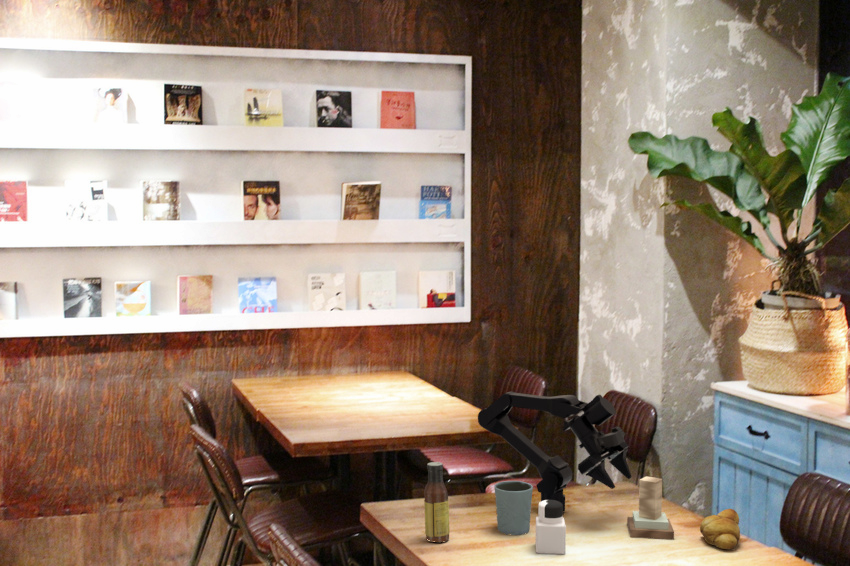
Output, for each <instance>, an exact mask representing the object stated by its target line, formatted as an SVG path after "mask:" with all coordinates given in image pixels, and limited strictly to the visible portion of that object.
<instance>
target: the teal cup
mask: <svg viewBox="0 0 850 566" xmlns="http://www.w3.org/2000/svg"><path fill="white" fill-rule="evenodd" d="M493 488H494V496H495V506H496V523H497V524H496V525H497V531H498V530H499V531H500V532H499V531H498V532H499V533H501V532H502V533H501V534H503V533H505V534H504V535H508V534H511V535H510V536H522V535H521V534H523V535H525V533H526V534H528V533H529V532H530V529H531V524H530V523H531V513H532V512H531V510H532V502H533V501H532V500H533V499H532V498H533V491H534V490H533V489H534V486H533V485H532V484H531V483H529V482H525V481H522V480H521V481H520V480H505V481H498V482H496V483H495V484H494V487H493Z"/></svg>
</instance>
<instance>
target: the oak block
mask: <svg viewBox="0 0 850 566" xmlns="http://www.w3.org/2000/svg"><path fill="white" fill-rule="evenodd" d="M638 481H639V485H638V486H639V487H638V489H639V490H638V492H639V493H638V495H639V496H638V499H639V500H638V511H639V517H641V518H646V519H651V520H657V519H658V518H660V517H661V516H662V511H663V506H662V505H663V502H662V501H663V478H659V477H654V476H653V477H652V476H643V477H642V478H640V479H639V480H638Z"/></svg>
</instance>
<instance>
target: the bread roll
mask: <svg viewBox="0 0 850 566" xmlns="http://www.w3.org/2000/svg"><path fill="white" fill-rule="evenodd" d="M739 524H740V516H739V514H738V512H737V511H736V510H735V509H732V508H727V509H726V508H725V509H724V510H722V511H720V512H718V513H717V514H712V515H708V516H707V517H704V518H703V519H702V521H701V523H700V526H699V531H700V533H701V534H702V537H703V538H704V541H705V542H706V543H708V544H709V545H713V546H715V547H716V548H719V549H722V550H723V549H724V550H732V549H734V548H735V547H736V546H737V543H738V542H739V541H740V539H741V533H740V532H741V529H740V526H739Z"/></svg>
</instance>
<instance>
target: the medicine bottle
mask: <svg viewBox="0 0 850 566" xmlns="http://www.w3.org/2000/svg"><path fill="white" fill-rule="evenodd" d="M537 512H538V516H535V551H536V554H544V555H545V554H546V555H547V554H548V555H565V554H566V545H567V543H566V541H567V540H566V537H567V535H566V534H567V533H566V529H567V527H566V523H565V522H566V521H565V518H564V517H563V516H564V511H563V504H562V503H561V502H559V501H556V500H544V501H541V500H540V501H539V503H538V511H537Z"/></svg>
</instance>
